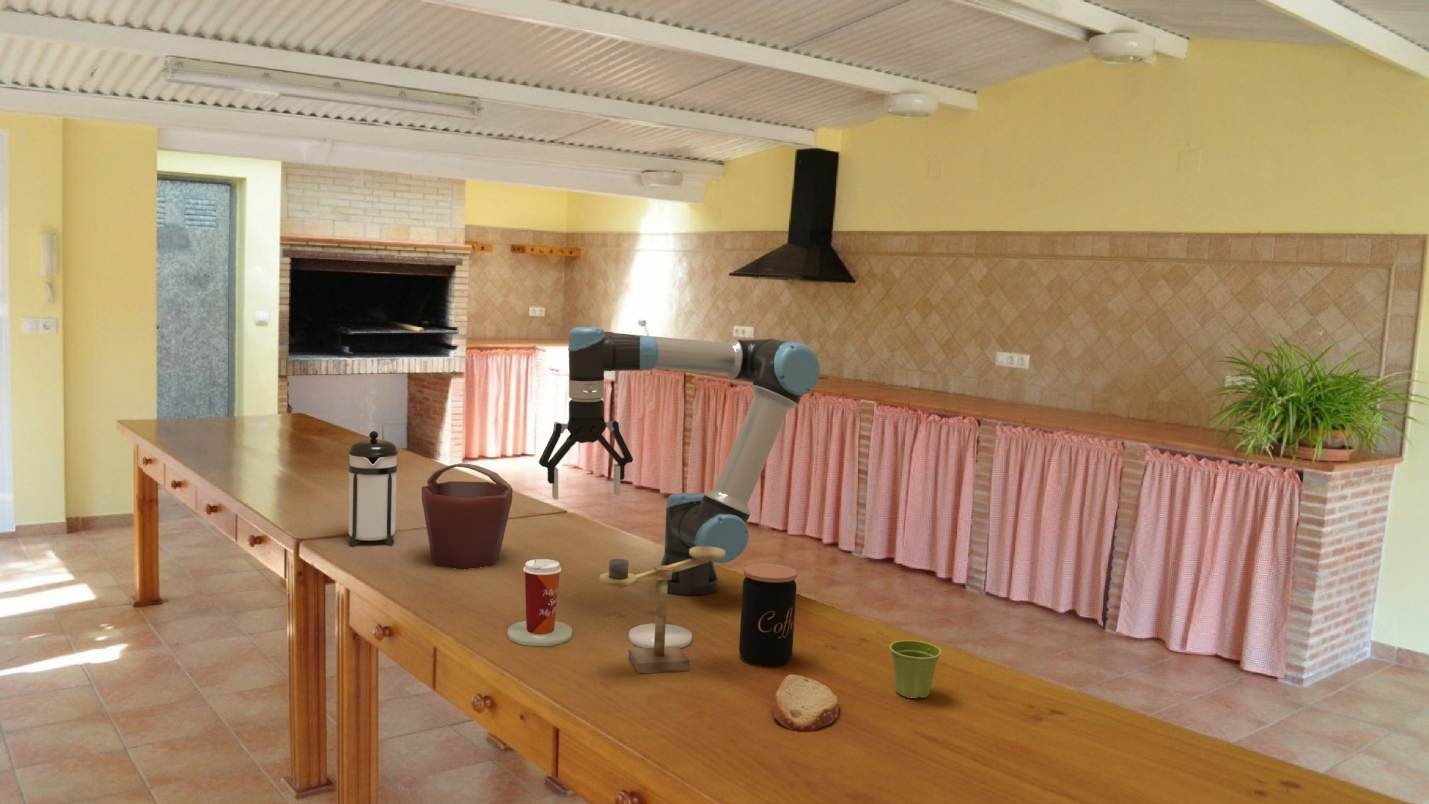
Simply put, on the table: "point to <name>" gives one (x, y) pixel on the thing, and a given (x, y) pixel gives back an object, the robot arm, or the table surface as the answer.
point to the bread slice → (804, 704)
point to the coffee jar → (767, 614)
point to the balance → (658, 608)
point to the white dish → (673, 636)
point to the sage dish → (539, 635)
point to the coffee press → (372, 490)
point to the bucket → (466, 519)
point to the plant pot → (914, 666)
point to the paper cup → (541, 594)
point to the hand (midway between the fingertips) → (586, 496)
